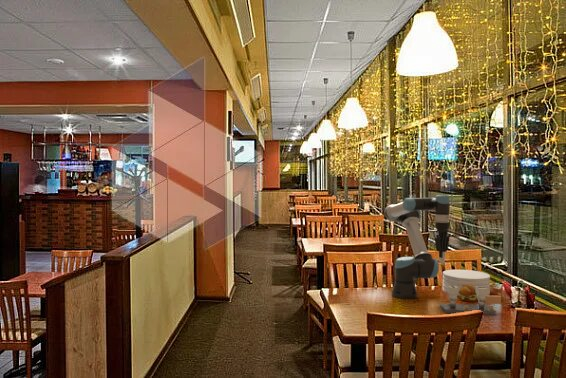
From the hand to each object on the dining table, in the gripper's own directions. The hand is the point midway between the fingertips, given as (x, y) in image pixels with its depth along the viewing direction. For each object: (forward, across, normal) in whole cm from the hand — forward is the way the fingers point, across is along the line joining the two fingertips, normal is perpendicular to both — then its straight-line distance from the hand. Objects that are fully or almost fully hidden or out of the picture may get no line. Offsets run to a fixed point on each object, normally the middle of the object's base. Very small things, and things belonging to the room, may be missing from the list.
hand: (442, 263), depth 263 cm
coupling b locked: (+19, +9, -23) cm, 32 cm away
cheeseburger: (+24, +21, -3) cm, 32 cm away
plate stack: (+24, +38, +10) cm, 46 cm away
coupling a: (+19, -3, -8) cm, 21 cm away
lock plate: (+24, 0, -16) cm, 29 cm away
